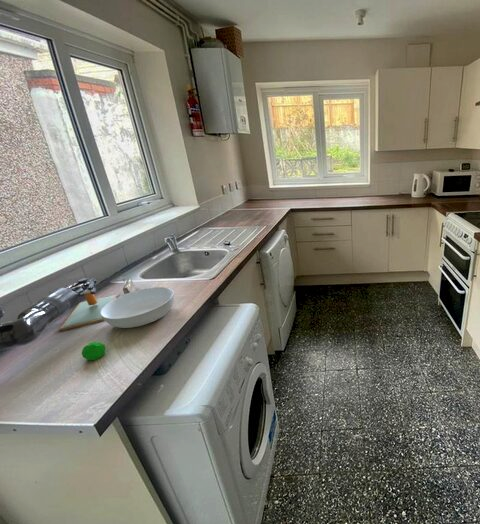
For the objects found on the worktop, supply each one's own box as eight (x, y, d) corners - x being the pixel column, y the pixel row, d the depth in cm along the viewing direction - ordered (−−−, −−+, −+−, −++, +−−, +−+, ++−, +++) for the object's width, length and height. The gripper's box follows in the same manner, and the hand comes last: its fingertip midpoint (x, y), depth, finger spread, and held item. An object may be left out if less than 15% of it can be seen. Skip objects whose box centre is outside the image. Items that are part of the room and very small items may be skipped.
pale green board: (60, 332, 94) (59, 328, 94) (81, 305, 111) (79, 302, 111) (105, 321, 99) (104, 318, 99) (118, 297, 116) (117, 294, 115)
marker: (87, 306, 106) (76, 282, 102) (89, 303, 108) (78, 279, 104) (96, 304, 107) (85, 280, 103) (98, 301, 109) (88, 277, 105)
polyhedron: (95, 364, 79) (88, 350, 77) (81, 363, 79) (73, 349, 78) (112, 352, 83) (106, 339, 81) (98, 351, 84) (92, 337, 82)
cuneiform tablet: (123, 278, 119) (117, 289, 109) (134, 275, 121) (129, 286, 111) (128, 290, 122) (123, 302, 112) (139, 287, 123) (134, 299, 113)
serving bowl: (90, 337, 91) (82, 319, 88) (138, 303, 110) (131, 287, 107) (154, 335, 90) (147, 317, 87) (190, 301, 109) (185, 285, 106)
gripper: (75, 290, 91) (106, 269, 107) (24, 297, 89) (63, 274, 104) (85, 310, 94) (114, 287, 109) (35, 317, 91) (72, 292, 107)
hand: (89, 281), depth 107 cm, fingers closed on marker, 2 cm apart
